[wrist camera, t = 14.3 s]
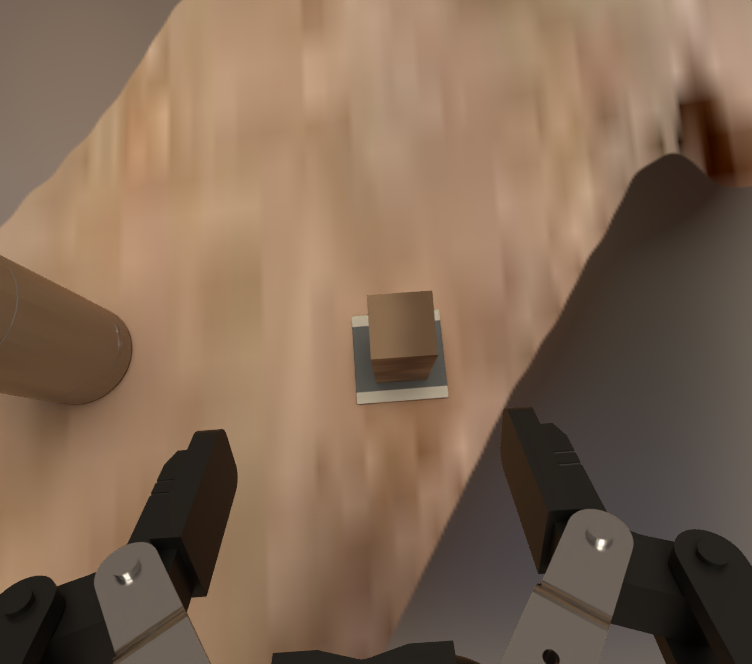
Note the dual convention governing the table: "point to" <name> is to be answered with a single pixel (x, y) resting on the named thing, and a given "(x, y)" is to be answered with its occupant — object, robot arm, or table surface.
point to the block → (402, 336)
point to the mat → (394, 390)
